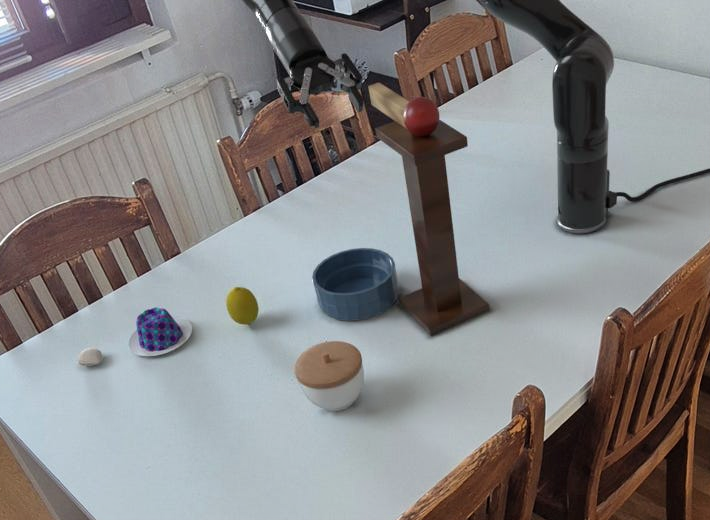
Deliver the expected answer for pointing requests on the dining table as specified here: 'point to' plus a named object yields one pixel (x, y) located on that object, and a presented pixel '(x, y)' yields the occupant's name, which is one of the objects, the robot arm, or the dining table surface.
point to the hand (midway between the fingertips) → (339, 116)
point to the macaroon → (90, 357)
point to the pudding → (158, 333)
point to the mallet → (406, 110)
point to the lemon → (242, 305)
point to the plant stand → (433, 228)
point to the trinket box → (330, 374)
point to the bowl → (356, 283)
